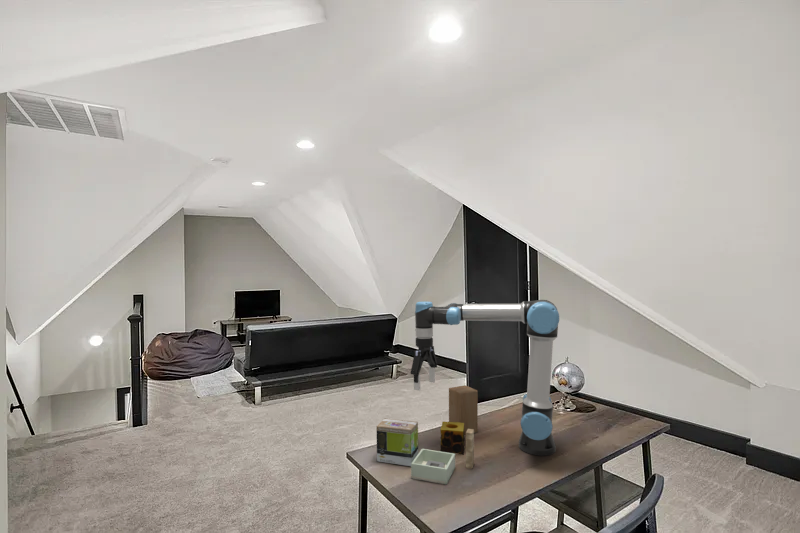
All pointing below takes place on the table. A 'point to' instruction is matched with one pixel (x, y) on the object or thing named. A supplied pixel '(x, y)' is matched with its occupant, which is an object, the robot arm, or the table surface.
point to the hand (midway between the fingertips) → (424, 385)
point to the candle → (452, 437)
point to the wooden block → (464, 407)
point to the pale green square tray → (433, 466)
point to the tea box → (397, 441)
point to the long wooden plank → (470, 448)
